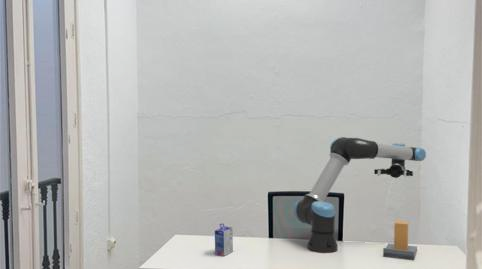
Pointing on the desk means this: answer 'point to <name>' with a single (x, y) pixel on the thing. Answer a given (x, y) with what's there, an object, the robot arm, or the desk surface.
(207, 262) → the desk surface
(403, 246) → the orange tan rectangular block
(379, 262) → the desk surface
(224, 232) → the ink cartridge box
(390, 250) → the plate
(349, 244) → the desk surface
